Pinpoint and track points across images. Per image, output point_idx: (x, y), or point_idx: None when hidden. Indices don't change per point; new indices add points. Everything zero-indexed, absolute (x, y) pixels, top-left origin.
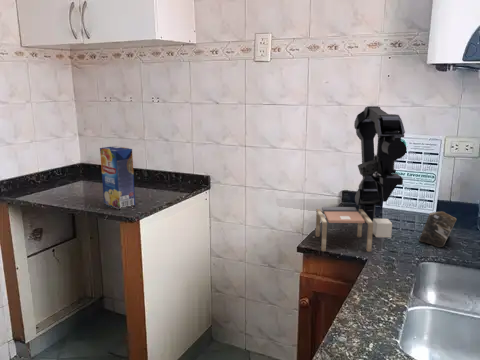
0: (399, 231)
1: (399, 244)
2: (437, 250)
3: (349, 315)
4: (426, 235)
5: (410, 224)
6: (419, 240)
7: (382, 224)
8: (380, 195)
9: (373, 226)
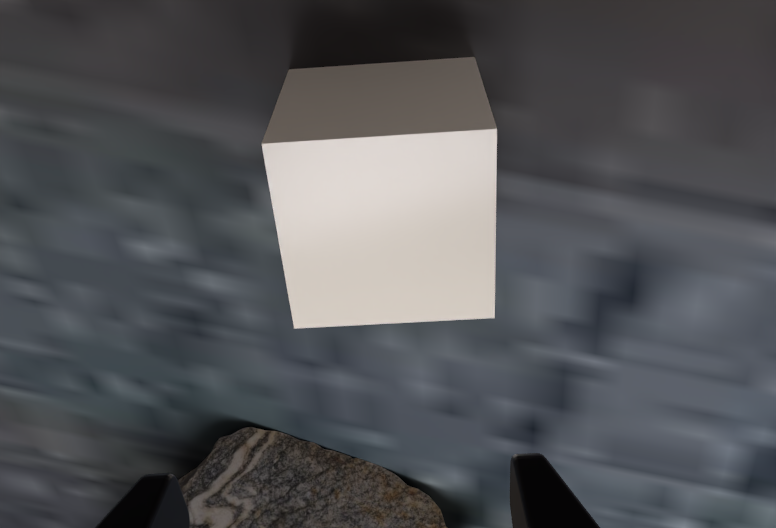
0: (501, 337)
1: (117, 261)
2: (69, 483)
3: None
4: None
5: (694, 457)
6: (240, 430)
7: (276, 208)
8: (521, 522)
9: (441, 91)
